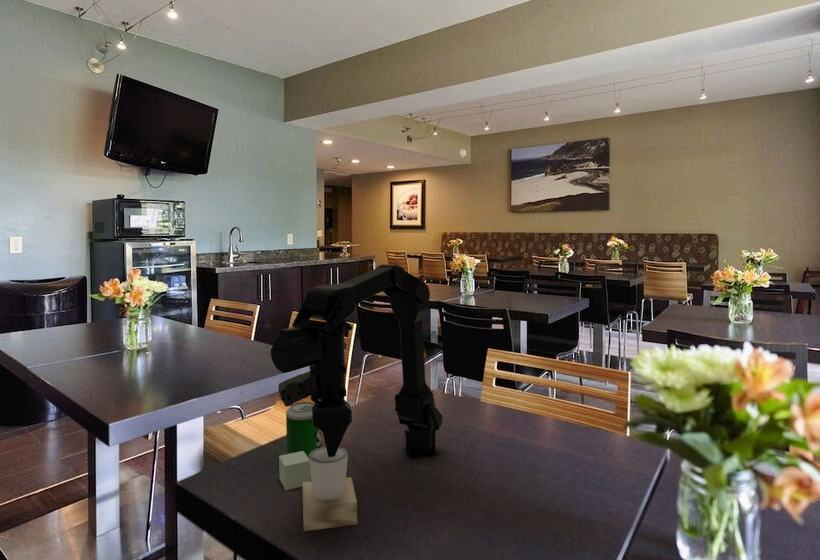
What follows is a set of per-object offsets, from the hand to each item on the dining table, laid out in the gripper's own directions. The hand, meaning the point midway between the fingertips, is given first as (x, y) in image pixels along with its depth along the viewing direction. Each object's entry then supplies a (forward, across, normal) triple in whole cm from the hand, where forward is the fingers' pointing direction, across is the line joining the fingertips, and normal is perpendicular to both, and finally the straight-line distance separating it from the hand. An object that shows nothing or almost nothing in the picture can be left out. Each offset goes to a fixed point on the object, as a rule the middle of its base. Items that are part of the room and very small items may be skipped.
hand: (329, 445), depth 88 cm
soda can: (+13, -22, -4) cm, 26 cm away
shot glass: (+8, +1, 0) cm, 9 cm away
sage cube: (+12, -12, -6) cm, 19 cm away
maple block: (+12, +1, 0) cm, 12 cm away
